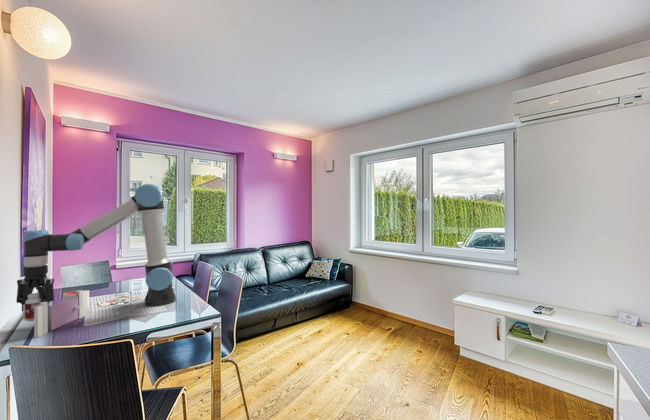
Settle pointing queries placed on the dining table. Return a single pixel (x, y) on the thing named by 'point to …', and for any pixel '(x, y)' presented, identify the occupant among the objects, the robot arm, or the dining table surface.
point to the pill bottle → (31, 306)
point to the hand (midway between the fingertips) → (35, 318)
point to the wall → (42, 313)
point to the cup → (73, 294)
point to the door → (62, 313)
